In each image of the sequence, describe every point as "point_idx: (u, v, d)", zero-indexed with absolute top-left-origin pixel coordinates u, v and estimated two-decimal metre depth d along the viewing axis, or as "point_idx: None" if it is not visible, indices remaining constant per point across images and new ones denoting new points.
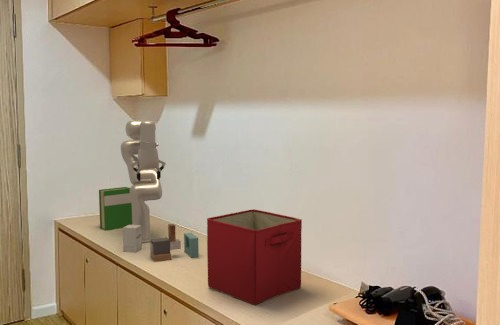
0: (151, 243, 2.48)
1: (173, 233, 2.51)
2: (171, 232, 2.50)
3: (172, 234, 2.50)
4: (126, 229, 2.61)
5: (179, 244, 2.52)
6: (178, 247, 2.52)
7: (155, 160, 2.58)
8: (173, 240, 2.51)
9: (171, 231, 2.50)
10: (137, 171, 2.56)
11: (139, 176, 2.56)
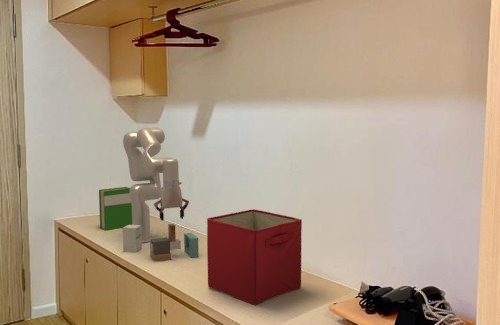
0: (151, 243, 2.48)
1: (173, 233, 2.51)
2: (171, 232, 2.50)
3: (172, 234, 2.50)
4: (126, 229, 2.61)
5: (179, 244, 2.52)
6: (178, 247, 2.52)
7: (178, 199, 2.49)
8: (173, 240, 2.51)
9: (171, 231, 2.50)
10: (160, 211, 2.47)
11: (162, 216, 2.48)
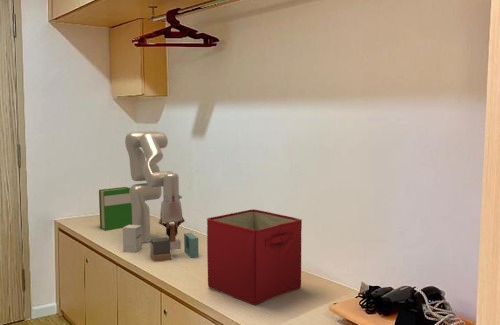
0: (151, 243, 2.48)
1: (173, 233, 2.51)
2: (171, 232, 2.50)
3: (172, 234, 2.50)
4: (126, 229, 2.61)
5: (179, 244, 2.52)
6: (178, 247, 2.52)
7: (178, 213, 2.50)
8: (173, 240, 2.51)
9: (171, 231, 2.50)
10: (167, 227, 2.50)
11: (169, 232, 2.50)
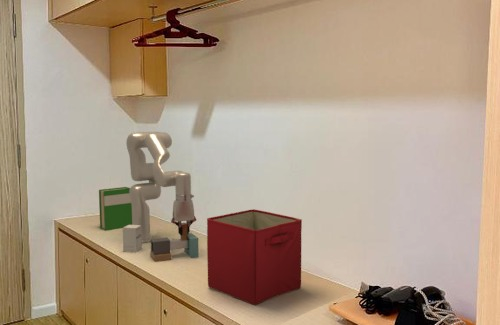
0: None
1: (185, 232, 2.53)
2: (183, 231, 2.52)
3: (184, 233, 2.53)
4: (126, 229, 2.61)
5: None
6: None
7: (191, 212, 2.53)
8: (185, 239, 2.53)
9: (183, 230, 2.52)
10: (179, 226, 2.52)
11: (181, 231, 2.52)
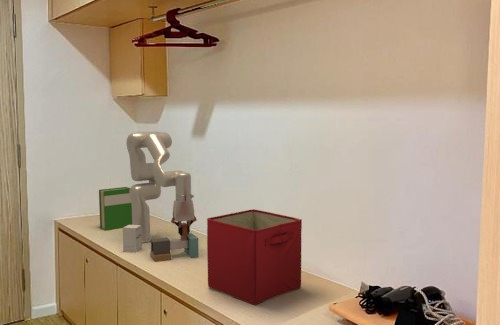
0: None
1: (185, 232, 2.53)
2: (183, 231, 2.52)
3: (184, 233, 2.53)
4: (126, 229, 2.61)
5: None
6: None
7: (191, 212, 2.53)
8: (185, 239, 2.53)
9: (183, 230, 2.52)
10: (179, 226, 2.52)
11: (181, 231, 2.52)
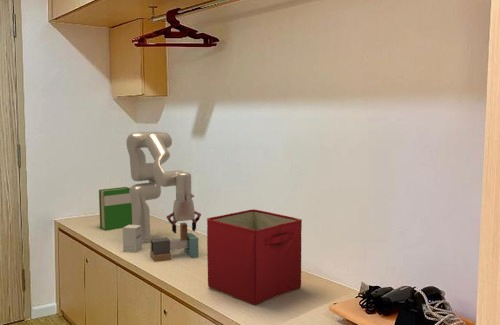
0: None
1: (185, 232, 2.53)
2: (183, 231, 2.52)
3: (184, 233, 2.53)
4: (126, 229, 2.61)
5: None
6: None
7: (191, 212, 2.53)
8: (185, 239, 2.53)
9: (183, 230, 2.52)
10: (173, 223, 2.51)
11: (175, 228, 2.51)
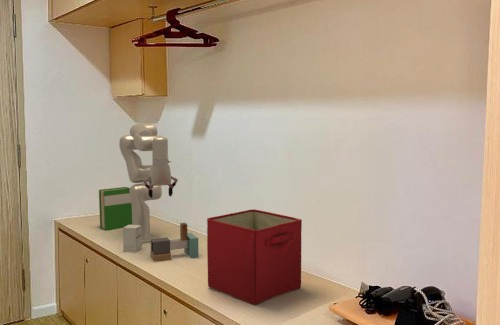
0: None
1: (185, 232, 2.53)
2: (183, 231, 2.52)
3: (184, 233, 2.53)
4: (126, 229, 2.61)
5: None
6: None
7: (167, 177, 2.54)
8: (185, 239, 2.53)
9: (183, 230, 2.52)
10: (149, 188, 2.51)
11: (151, 193, 2.52)
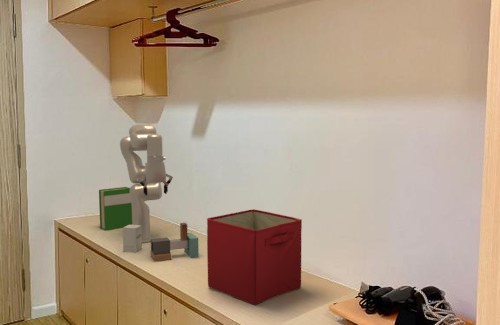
0: None
1: (185, 232, 2.53)
2: (183, 231, 2.52)
3: (184, 233, 2.53)
4: (126, 229, 2.61)
5: None
6: None
7: (162, 174, 2.54)
8: (185, 239, 2.53)
9: (183, 230, 2.52)
10: (144, 185, 2.52)
11: (146, 190, 2.52)
